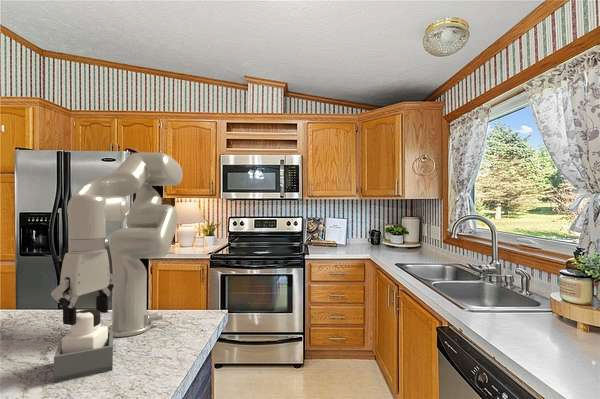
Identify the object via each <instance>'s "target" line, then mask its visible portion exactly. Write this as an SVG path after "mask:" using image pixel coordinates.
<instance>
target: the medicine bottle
mask: <svg viewBox="0 0 600 399" xmlns="http://www.w3.org/2000/svg"><path fill="white" fill-rule="evenodd" d="M108 327H109V326H106V325H104V326H101V313H100V311H99V310H96V308H95V309H94V308H91V309H81V310H79V311H76V324H75V325H70V333H68V334H66V335H64V336H63V337H62V338H61V339H62V348H61V354H67V353H73V352H78V351H84V350H89V349H95V348H100V347H106V346H108Z"/></svg>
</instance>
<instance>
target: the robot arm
mask: <svg viewBox="0 0 600 399" xmlns="http://www.w3.org/2000/svg"><path fill="white" fill-rule="evenodd" d="M183 177H184V174H183V169H182V166H181V164H180V163H179V162H177V161H176V160H175V159H174V158H173V157H172V156H170V155H169V154H166V153H163V152H144V151H143V152H134V153H131V154H130V155H128V156H127V157H126V158H125V159H124V161H123V162H122V163H121V164H120V165H119V166H118V167H117V168H116V169H115V171H114V172H111V173H108V174H106V175H103V176H101V177H98V178H95V179H93V180H91V181H89V182H87V183H85V184H83V185H82V186H81V187H79V189H78V190H77V191H75V193H73V195H72V196H71V197H70V199H69V200H68V204H67V207H66V212H67V216H68V252H66V253H65V254H64V257H63V260H62V264H61V269H60V270H61V271H60V278H59V279H60V280H59V285H57V287H55V289H53V290H52V291H51V292H50V296H51V297H52V298H53V299H54V302H55V303H56V304H57V305H59V307H60V308H62V323H63V325H67V326H71V325H75V324H76V312H77V307H76V306H75V304H76V303H77V301H78V299H79V298H80V296H81V297H82V296H85V295H89V294H92V293H95V292H96V293H97V294H98V295H96V298H95V300H96V301H95V302H96V305H95V310H99V311H100V314H107V313H109V297H111V298H112V299H111V300H112V302H111V303H112V304H111V306H112V307H111V310H112V311H111V324H110V325H109V326H107V327H108V332H109V331H113V338H121V337H122V338H124V337H132V336H136V335H139V334H142V333H145V332H146V331H149V330H150V329H151V327H152V325H153V324H152V322H153V321H162V320H163V313H158V312H153V313H149V312H148V310H147V294H148V293H147V287H148V286H147V284H148V283H147V282H148V280H147V278H148V276H147V274H148V272H147V269H146V266H145V265H144V263H143V262H142V261H141V260H140V259H161V258H164V257H166V256H168V253H169V251H170V248H171V246H172V243H173V239H174V236H175V234H176V230H177V226H178V221H179V220H178V219H179V216H178V212H177V209H176V208H175V207H174V206H173V205H170V204H162V197H161V196H160V194H159V192H158V191H157V190H156V189H155V188H153V186H155V187H157V186H158V187H166V186H167V187H172V186H173V187H174V186H175V187H176V186H178V185H180V184H181V182H182V181H183ZM134 194H135V199H134V201H133V203H132V205H131V207H130V203H129V202H128V200H127V199H126V198H125V197H129V196H131V195H134ZM124 221H125V224H126V227H123V228H119V229H116V230H114V232H112V233H111V235H110V237H109V239H107V238H106V237H107V236H106V232H107V231H106V228H107V224H119V223H121V222H124ZM108 240H109V241H108ZM106 244H108V246H109V253H110V256H111V263H112V273H111V272H110V260H109V254H108V249H106ZM111 292H112V296H111Z"/></svg>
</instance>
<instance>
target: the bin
mask: <svg viewBox="0 0 600 399" xmlns="http://www.w3.org/2000/svg"><path fill="white" fill-rule="evenodd" d="M61 348H62V338H61V339H60V342H59V343H58V347H57V349H56V351H55V354H54V356H53V383H57V382H58V383H59V382H63V381H67V380H73V379H77V378H81V377H86V376H92V375H95V374H101V373H105V372H110V371H113V369H114V368H113V367H114V366H113V365H114V361H113V360H114V358H113V357H114V350H113V349H114V337H113V331H109V332H108V346H106V347H100V348H95V349H89V350H84V351H78V352H73V353H67V354H61Z"/></svg>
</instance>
